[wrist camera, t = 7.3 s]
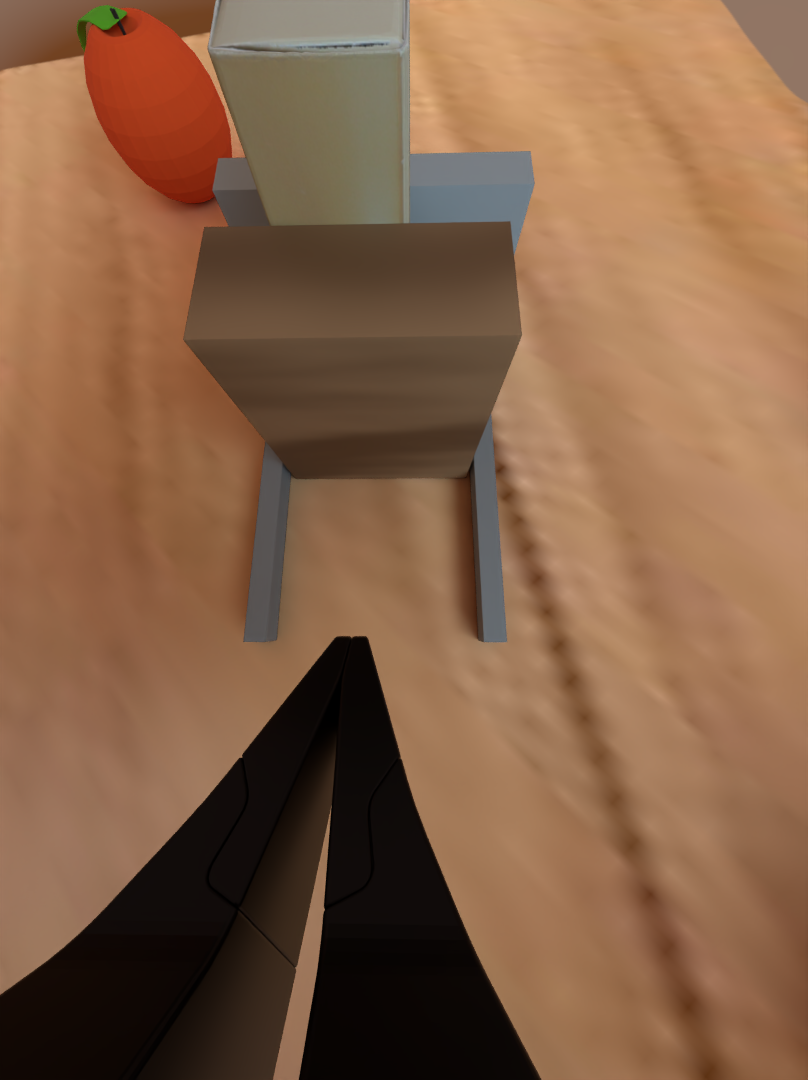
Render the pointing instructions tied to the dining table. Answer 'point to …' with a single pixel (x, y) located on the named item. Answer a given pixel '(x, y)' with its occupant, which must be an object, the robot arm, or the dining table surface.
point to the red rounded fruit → (154, 102)
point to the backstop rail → (490, 196)
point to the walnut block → (360, 340)
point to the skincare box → (320, 105)
